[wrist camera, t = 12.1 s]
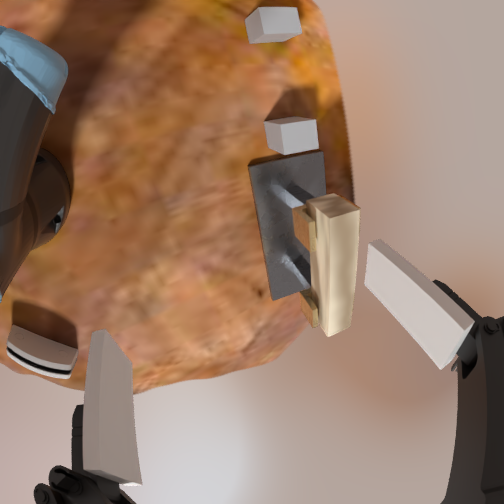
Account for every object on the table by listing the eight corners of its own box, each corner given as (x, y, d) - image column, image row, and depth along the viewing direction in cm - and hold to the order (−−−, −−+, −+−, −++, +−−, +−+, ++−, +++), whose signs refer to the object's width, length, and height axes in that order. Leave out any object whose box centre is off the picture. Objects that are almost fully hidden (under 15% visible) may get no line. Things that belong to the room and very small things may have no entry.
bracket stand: (271, 297, 52) (299, 348, 41) (247, 165, 38) (284, 194, 27) (325, 277, 54) (361, 321, 43) (320, 150, 40) (375, 173, 29)
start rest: (268, 147, 37) (284, 155, 32) (244, 20, 26) (258, 7, 21) (299, 141, 38) (318, 148, 33) (278, 18, 27) (296, 7, 22)
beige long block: (312, 313, 43) (327, 337, 39) (306, 200, 32) (329, 218, 28) (333, 305, 44) (350, 327, 39) (333, 193, 33) (359, 209, 28)
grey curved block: (13, 338, 39) (0, 361, 30) (14, 320, 39) (-1, 342, 30) (76, 362, 47) (73, 389, 38) (79, 345, 47) (75, 372, 38)
